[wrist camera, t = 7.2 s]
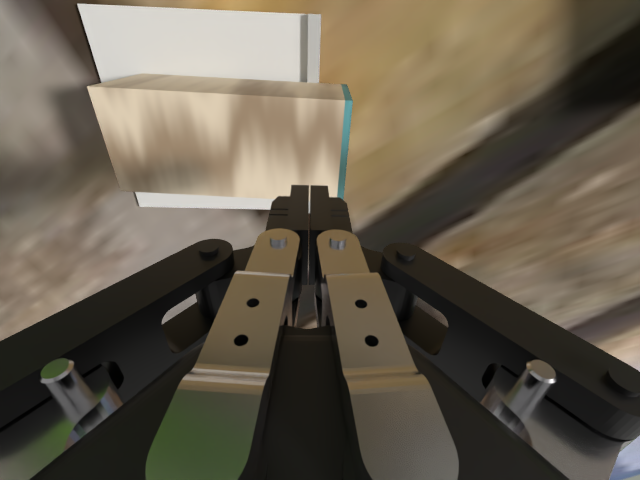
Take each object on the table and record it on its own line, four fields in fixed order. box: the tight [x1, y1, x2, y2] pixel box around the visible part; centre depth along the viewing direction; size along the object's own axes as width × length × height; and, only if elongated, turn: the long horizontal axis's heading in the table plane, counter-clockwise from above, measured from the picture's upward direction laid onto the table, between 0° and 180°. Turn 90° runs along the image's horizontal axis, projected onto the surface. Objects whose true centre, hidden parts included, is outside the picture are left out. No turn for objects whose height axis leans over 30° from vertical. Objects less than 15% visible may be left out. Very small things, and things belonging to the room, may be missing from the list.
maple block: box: [87, 73, 353, 201], centre depth 21 cm, size 6×6×14 cm
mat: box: [77, 4, 321, 213], centre depth 24 cm, size 14×15×1 cm
